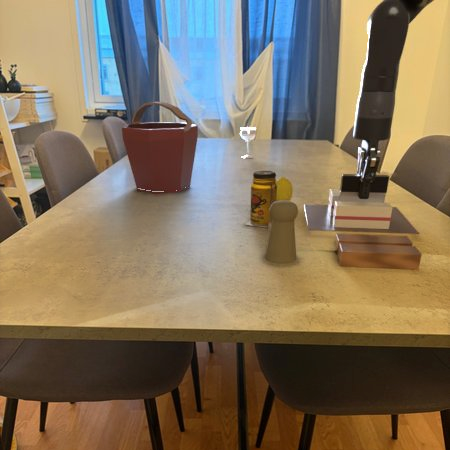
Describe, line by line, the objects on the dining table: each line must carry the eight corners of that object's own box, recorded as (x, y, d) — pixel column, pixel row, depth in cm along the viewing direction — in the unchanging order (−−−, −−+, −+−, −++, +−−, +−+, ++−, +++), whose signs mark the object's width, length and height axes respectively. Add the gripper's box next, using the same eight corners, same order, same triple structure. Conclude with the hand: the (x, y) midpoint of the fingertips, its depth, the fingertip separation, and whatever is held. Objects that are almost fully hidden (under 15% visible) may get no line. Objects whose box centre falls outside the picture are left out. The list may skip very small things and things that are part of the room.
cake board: (395, 210, 114) (396, 207, 113) (419, 238, 94) (419, 233, 94) (303, 208, 116) (303, 204, 116) (307, 234, 97) (308, 229, 96)
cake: (375, 209, 111) (378, 190, 108) (381, 217, 105) (384, 197, 102) (327, 208, 112) (329, 189, 110) (330, 216, 106) (332, 195, 104)
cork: (274, 265, 81) (278, 207, 76) (259, 254, 86) (261, 199, 81) (302, 260, 83) (307, 203, 78) (286, 250, 88) (289, 196, 83)
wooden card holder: (404, 249, 88) (407, 235, 87) (418, 269, 79) (421, 254, 77) (334, 247, 89) (335, 233, 88) (340, 266, 80) (342, 251, 79)
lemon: (295, 207, 117) (297, 177, 113) (280, 210, 114) (281, 179, 111) (282, 202, 121) (284, 173, 117) (266, 205, 118) (268, 176, 115)
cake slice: (385, 223, 100) (388, 202, 98) (389, 229, 97) (393, 207, 94) (332, 222, 102) (334, 201, 99) (334, 227, 98) (336, 205, 96)
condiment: (244, 225, 103) (244, 173, 97) (256, 215, 110) (258, 167, 104) (272, 229, 100) (275, 176, 95) (284, 219, 107) (287, 169, 101)
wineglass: (243, 158, 187) (244, 129, 181) (237, 156, 192) (237, 127, 187) (257, 157, 189) (258, 128, 184) (251, 155, 195) (252, 127, 189)
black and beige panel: (379, 220, 101) (387, 174, 96) (381, 223, 100) (389, 176, 95) (336, 219, 102) (341, 173, 98) (337, 221, 101) (342, 175, 96)
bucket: (210, 191, 133) (209, 102, 122) (143, 201, 123) (135, 105, 112) (176, 177, 152) (172, 99, 141) (115, 184, 142) (105, 101, 130)
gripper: (400, 117, 84) (385, 205, 92) (385, 112, 96) (373, 190, 104) (361, 117, 85) (349, 204, 93) (351, 112, 97) (341, 189, 105)
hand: (362, 197), depth 98 cm, fingers closed on black and beige panel, 2 cm apart
